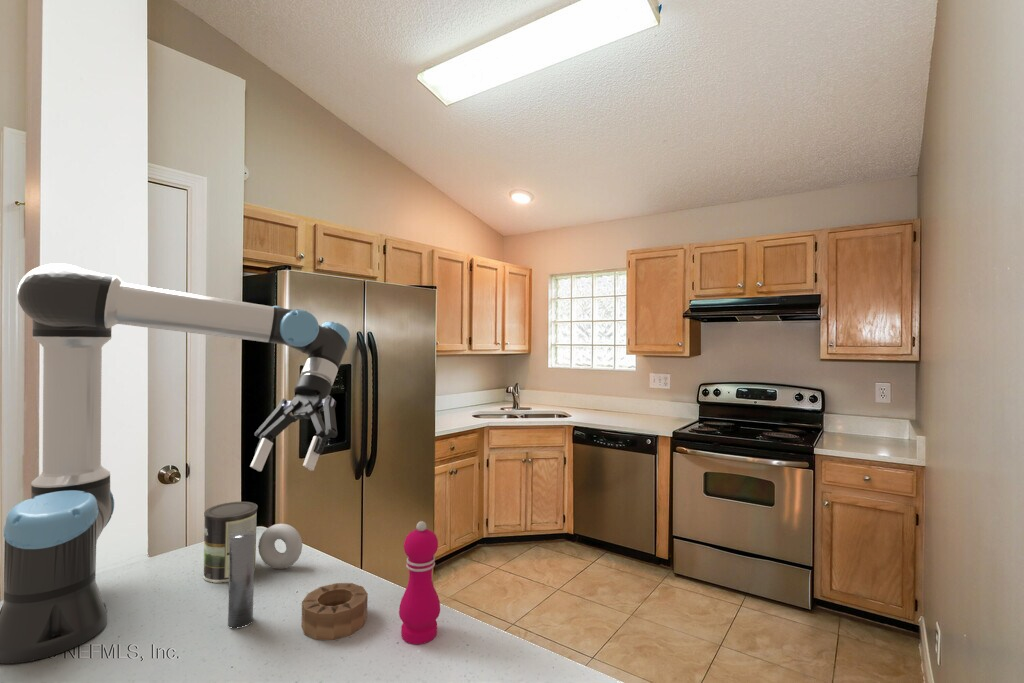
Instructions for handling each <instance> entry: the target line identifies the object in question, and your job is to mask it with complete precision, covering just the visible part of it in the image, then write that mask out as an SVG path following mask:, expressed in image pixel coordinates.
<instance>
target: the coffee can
mask: <svg viewBox="0 0 1024 683" xmlns="http://www.w3.org/2000/svg"><path fill="white" fill-rule="evenodd" d="M258 508H259V506H258V504H256V503H254V502H251V501H232V502H225V503H220V504H217V505H214V506H211V507H209V508H207V509H206V510H205V511H204V513H203V514H204V535H203V536H204V538H203V539H204V544H203V575H202V577H203V578H202V579H203V580H204V581H206V582H208V583H212V582H213V583H212V584H222V582H225V583H229V552H230V535H232V534H234V533H236V532H240V531H253V532H254V533H255V540H254V571H255V570H256V567H257V565H256V554H257V552H256V551H257V550H256V548H257V512H258Z"/></svg>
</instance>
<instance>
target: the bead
mask: <svg viewBox="0 0 1024 683" xmlns="http://www.w3.org/2000/svg"><path fill="white" fill-rule="evenodd" d="M368 597H369V596H368V592H367V590H366V589H365V587H364V586H362V585H359V584H355V583H353V582H334V583H332V584H326V585H321V586H319V587H318V588H316V589H314V590H312V591H310V592H308V593H307V594H306V596H305V597H304V598H303V599H302V601H301V629H302V632H303V634H304V636H307V637H308V638H311V639H313V640H316V641H317V640H318V641H319V640H321V641H323V640H333V641H334V640H337V639H341V638H345V637H347V636H351V635H353V634H354V633H355V632H357V631H359V630H360V629H362V628H363V627H364V626H365V623H366V622H367V621H366V620H367V619H368Z"/></svg>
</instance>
